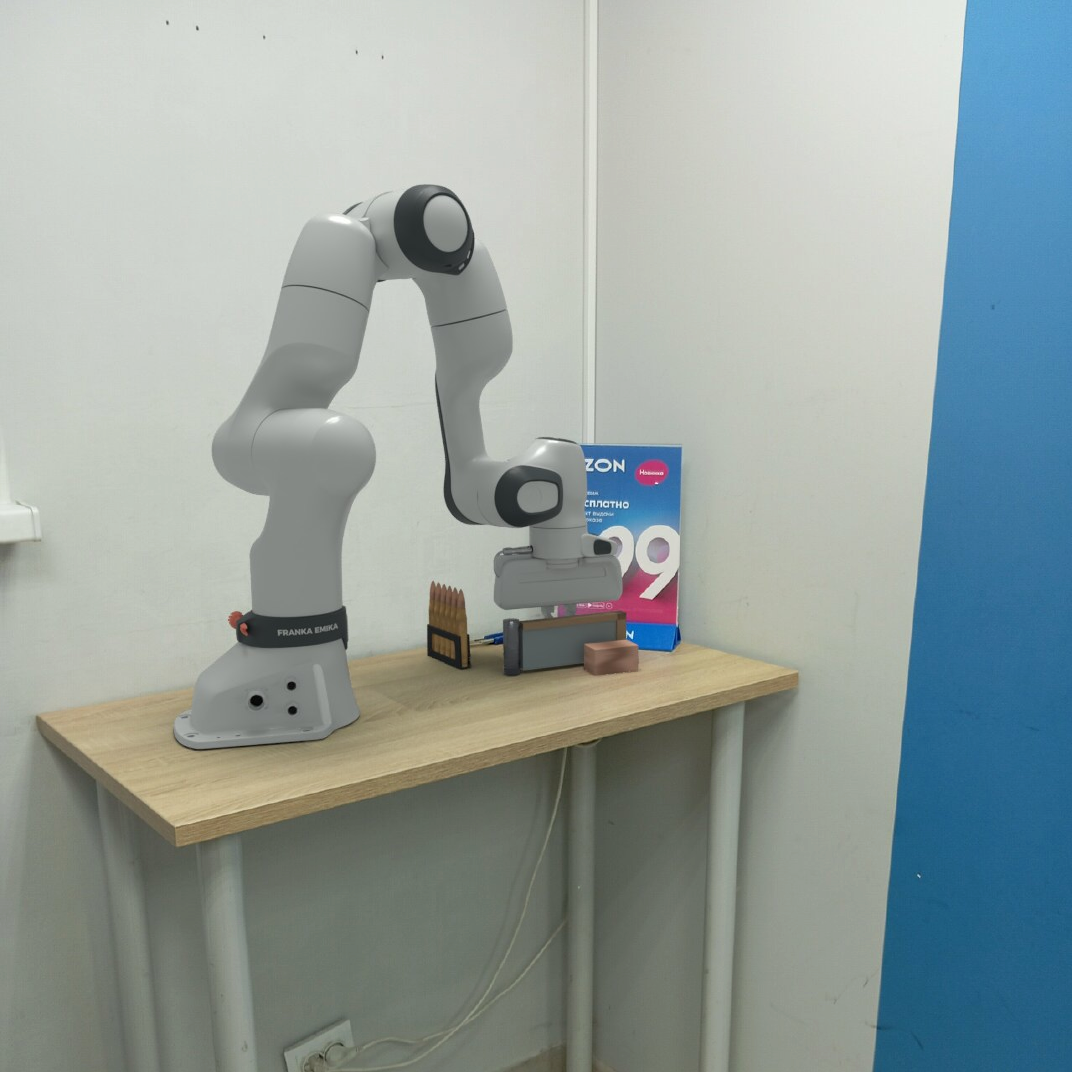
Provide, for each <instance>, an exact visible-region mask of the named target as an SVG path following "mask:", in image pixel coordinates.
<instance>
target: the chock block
mask: <svg viewBox="0 0 1072 1072" xmlns="http://www.w3.org/2000/svg"><path fill="white" fill-rule="evenodd" d="M639 662H640V661H639V645H638V644H637V643H634V642H632V641H630V640H629V639H626V640H618V641H608V642H599V643H589V644H584V663H583V670H585V671H586V670H587V671H586V672H588V673H589V672H590V673H589V674H591V675H592V676H596V677H598V676H604V675H606V674H608V675H614V674H615V673H616V674H624V673H623V672H625V673H631V672H632V671H634V672H639ZM629 671H630V672H629ZM632 673H633V672H632Z"/></svg>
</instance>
